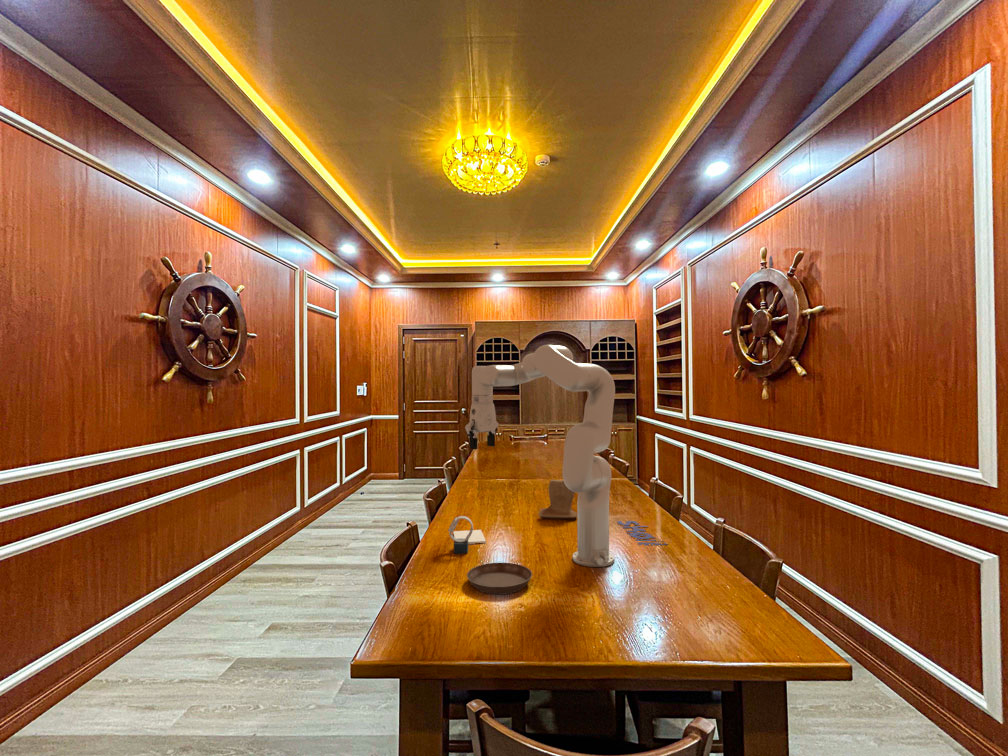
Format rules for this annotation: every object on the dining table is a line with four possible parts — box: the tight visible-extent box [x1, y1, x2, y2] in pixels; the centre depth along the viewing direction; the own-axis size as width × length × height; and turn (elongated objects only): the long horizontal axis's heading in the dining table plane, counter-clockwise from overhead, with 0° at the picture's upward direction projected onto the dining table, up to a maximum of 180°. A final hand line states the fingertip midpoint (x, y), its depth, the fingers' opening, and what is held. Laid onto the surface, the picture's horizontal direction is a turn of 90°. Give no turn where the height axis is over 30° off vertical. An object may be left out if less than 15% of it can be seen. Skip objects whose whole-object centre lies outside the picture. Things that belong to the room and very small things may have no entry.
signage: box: [616, 520, 669, 546], centre depth 182 cm, size 28×1×10 cm
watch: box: [448, 515, 474, 555], centre depth 163 cm, size 6×8×11 cm
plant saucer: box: [466, 562, 533, 595], centre depth 137 cm, size 18×18×3 cm
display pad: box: [452, 529, 487, 545], centre depth 176 cm, size 13×10×1 cm
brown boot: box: [538, 479, 577, 519], centre depth 203 cm, size 15×12×15 cm
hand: (482, 447), depth 183 cm, fingers open, 9 cm apart
